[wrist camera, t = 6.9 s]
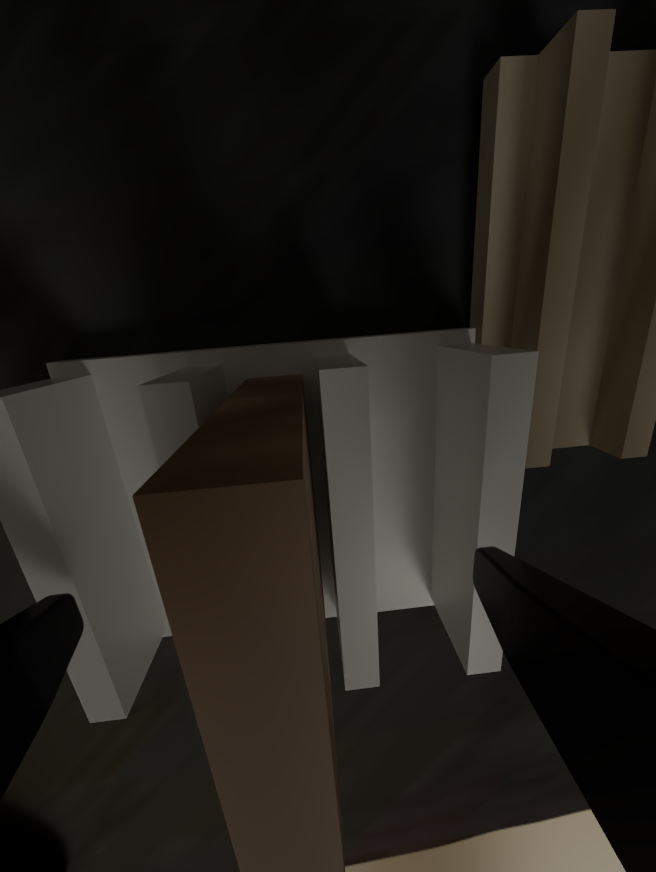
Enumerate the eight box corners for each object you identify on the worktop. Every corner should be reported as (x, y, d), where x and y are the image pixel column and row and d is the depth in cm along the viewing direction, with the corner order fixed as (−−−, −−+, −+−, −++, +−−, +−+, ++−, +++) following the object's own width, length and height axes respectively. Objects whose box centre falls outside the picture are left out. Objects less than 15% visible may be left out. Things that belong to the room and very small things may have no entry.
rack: (463, 327, 11) (546, 330, 7) (450, 586, 14) (502, 680, 10) (65, 360, 10) (-67, 381, 6) (147, 621, 13) (90, 732, 10)
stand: (692, 69, 9) (797, 1, 7) (617, 432, 12) (675, 453, 10) (483, 79, 9) (533, 12, 7) (462, 447, 12) (493, 471, 10)
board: (302, 373, 10) (302, 479, 3) (323, 593, 12) (347, 902, 6) (246, 378, 10) (132, 495, 3) (279, 598, 12) (253, 916, 6)
